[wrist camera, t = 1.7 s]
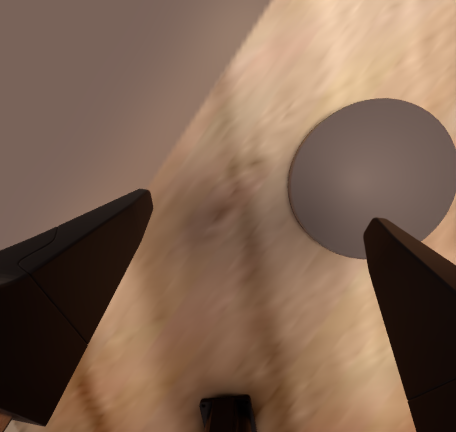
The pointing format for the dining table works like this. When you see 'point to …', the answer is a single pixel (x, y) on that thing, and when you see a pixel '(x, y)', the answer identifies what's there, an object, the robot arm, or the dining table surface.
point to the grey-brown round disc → (372, 174)
